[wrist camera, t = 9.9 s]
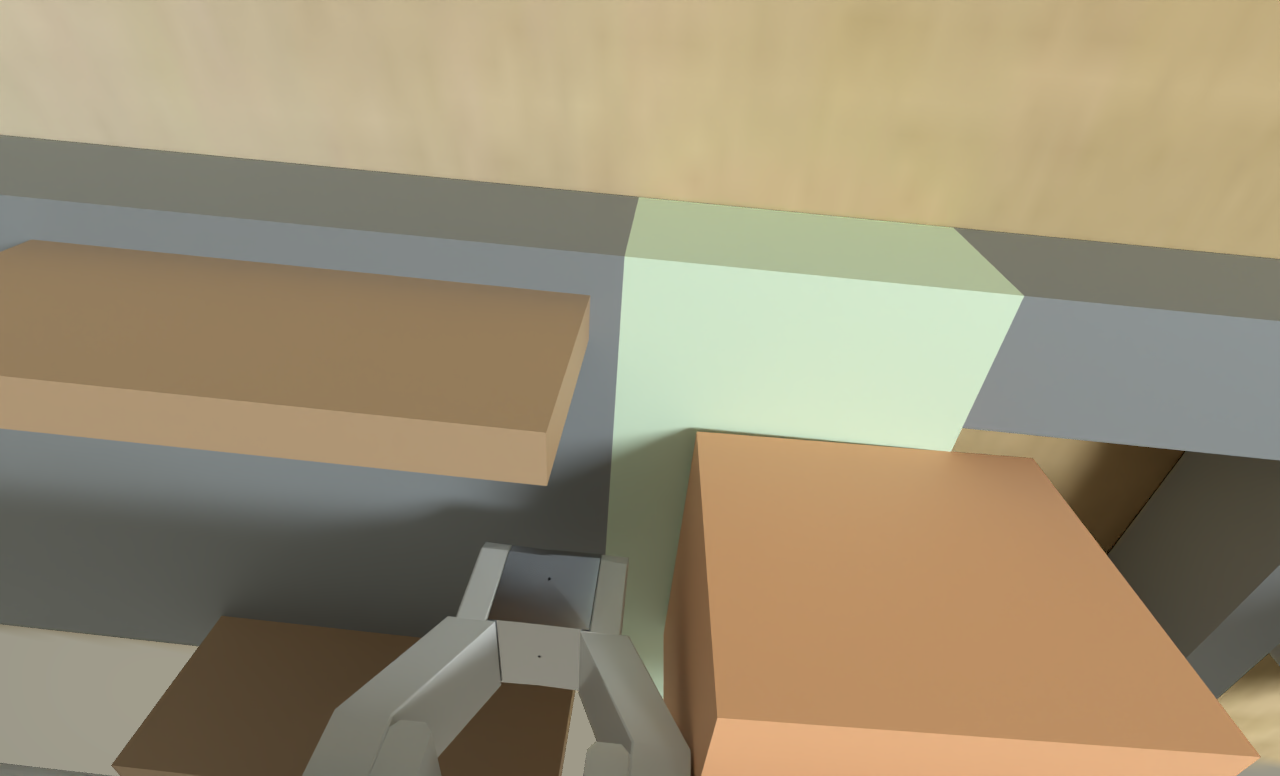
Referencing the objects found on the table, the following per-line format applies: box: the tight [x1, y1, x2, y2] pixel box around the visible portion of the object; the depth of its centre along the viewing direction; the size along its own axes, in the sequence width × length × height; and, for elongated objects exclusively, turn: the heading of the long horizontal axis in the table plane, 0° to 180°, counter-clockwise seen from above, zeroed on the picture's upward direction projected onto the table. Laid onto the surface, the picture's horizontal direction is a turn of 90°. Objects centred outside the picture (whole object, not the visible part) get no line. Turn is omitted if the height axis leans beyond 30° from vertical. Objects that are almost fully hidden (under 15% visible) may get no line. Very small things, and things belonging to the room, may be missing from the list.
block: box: [663, 431, 1260, 776], centre depth 10 cm, size 6×6×5 cm
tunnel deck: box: [0, 135, 1280, 776], centre depth 12 cm, size 32×12×6 cm, turn 86°
